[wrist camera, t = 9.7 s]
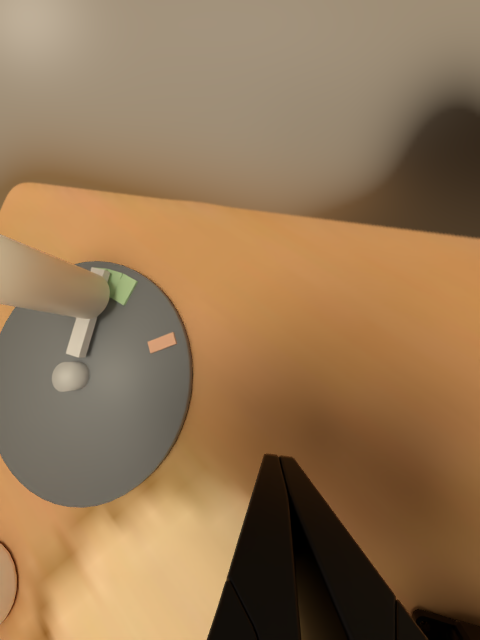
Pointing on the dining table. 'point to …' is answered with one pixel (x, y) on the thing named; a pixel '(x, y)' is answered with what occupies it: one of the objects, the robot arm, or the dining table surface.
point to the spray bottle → (6, 583)
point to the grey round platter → (94, 394)
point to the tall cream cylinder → (53, 289)
